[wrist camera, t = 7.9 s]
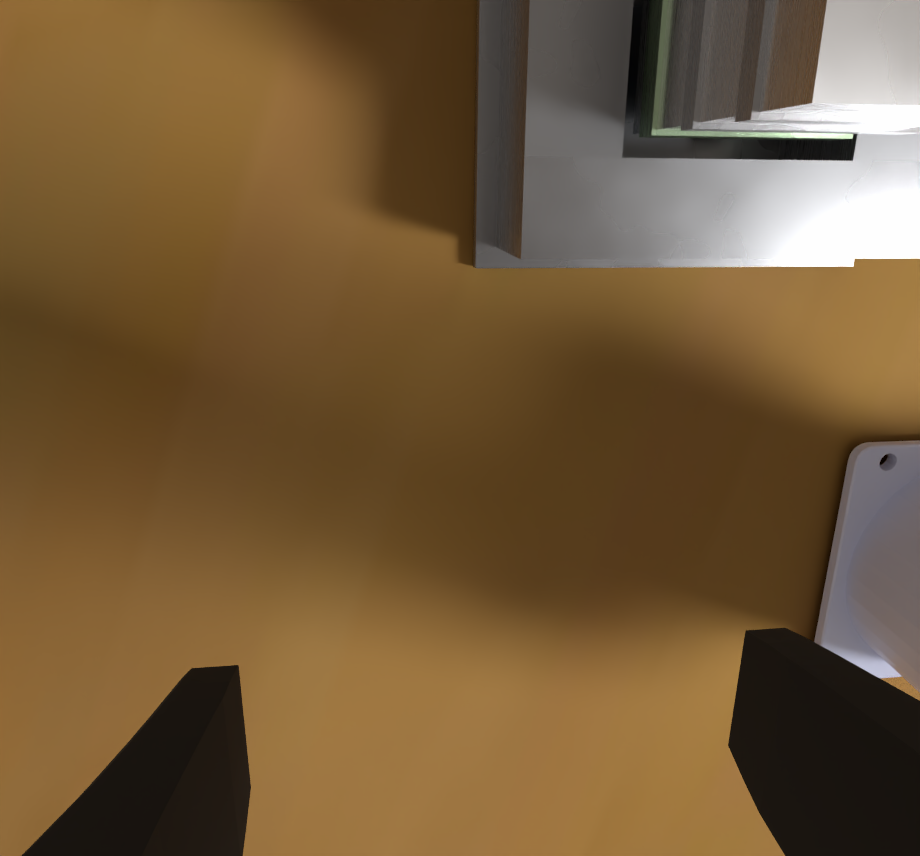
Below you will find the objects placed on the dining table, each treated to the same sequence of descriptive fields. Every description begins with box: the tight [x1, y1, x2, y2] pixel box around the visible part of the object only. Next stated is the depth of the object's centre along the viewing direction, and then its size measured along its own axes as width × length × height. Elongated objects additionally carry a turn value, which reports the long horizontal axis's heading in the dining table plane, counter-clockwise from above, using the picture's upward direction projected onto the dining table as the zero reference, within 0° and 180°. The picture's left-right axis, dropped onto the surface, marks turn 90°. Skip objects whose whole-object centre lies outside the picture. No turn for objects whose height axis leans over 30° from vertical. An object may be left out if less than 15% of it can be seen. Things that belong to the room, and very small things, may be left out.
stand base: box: [473, 0, 920, 268], centre depth 16 cm, size 10×10×4 cm
